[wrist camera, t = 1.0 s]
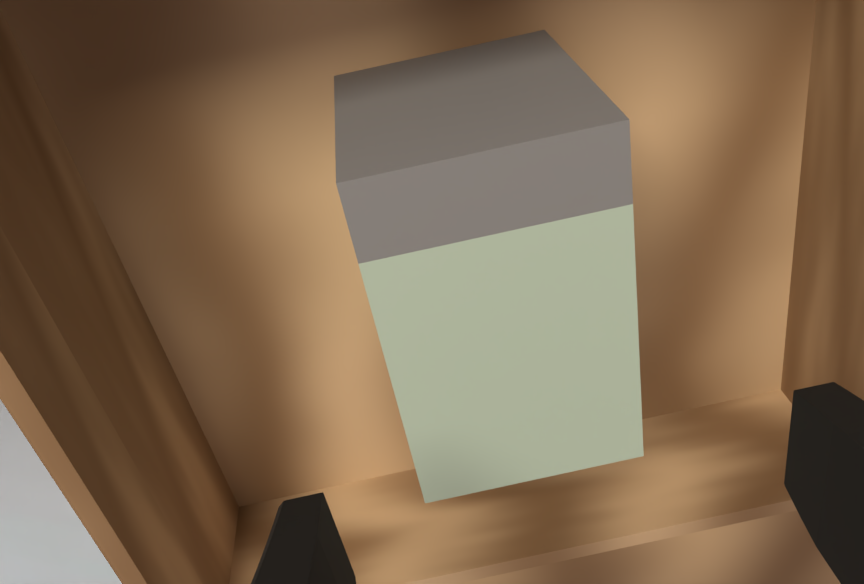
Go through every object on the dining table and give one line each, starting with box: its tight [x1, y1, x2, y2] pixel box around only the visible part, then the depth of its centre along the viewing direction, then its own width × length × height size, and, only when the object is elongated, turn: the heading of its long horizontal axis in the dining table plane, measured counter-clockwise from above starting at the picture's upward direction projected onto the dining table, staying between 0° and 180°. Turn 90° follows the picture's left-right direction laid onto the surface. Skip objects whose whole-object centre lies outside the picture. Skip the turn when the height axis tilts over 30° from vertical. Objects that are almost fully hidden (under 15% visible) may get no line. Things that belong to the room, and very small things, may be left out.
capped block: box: [334, 30, 644, 503], centre depth 17 cm, size 5×8×6 cm, turn 11°
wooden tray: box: [0, 0, 864, 584], centre depth 19 cm, size 23×23×6 cm
